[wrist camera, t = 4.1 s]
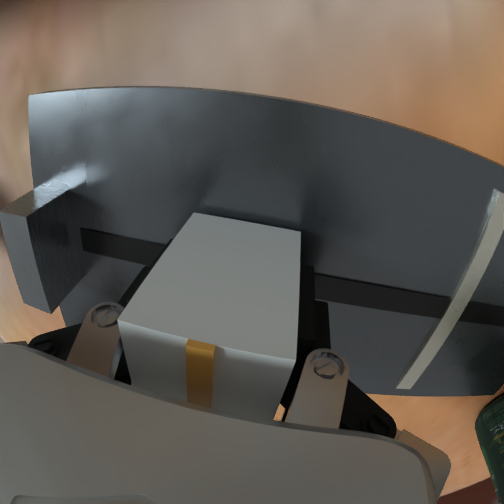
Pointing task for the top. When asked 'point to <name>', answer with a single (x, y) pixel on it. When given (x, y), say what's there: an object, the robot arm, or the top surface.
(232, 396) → the fader knob
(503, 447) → the coffee jar
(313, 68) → the top surface
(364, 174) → the grey slider fader
